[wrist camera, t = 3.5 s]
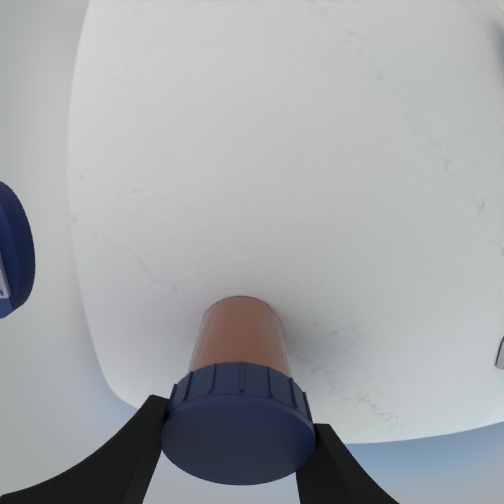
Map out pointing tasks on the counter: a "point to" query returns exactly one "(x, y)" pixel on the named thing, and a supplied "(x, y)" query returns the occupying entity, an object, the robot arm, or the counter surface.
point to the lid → (238, 424)
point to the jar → (240, 336)
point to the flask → (501, 358)
